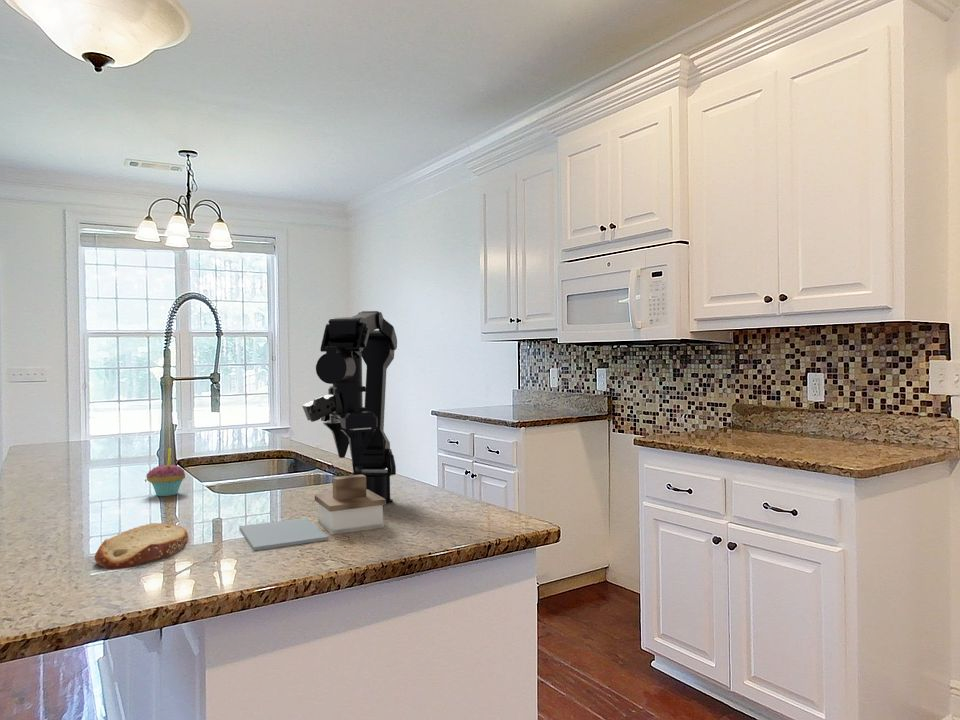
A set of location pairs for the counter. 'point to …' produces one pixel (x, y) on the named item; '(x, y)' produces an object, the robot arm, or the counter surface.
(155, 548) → the slice of bread
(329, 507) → the lid
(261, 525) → the mat
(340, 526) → the dish
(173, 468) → the cupcake
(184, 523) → the counter surface
